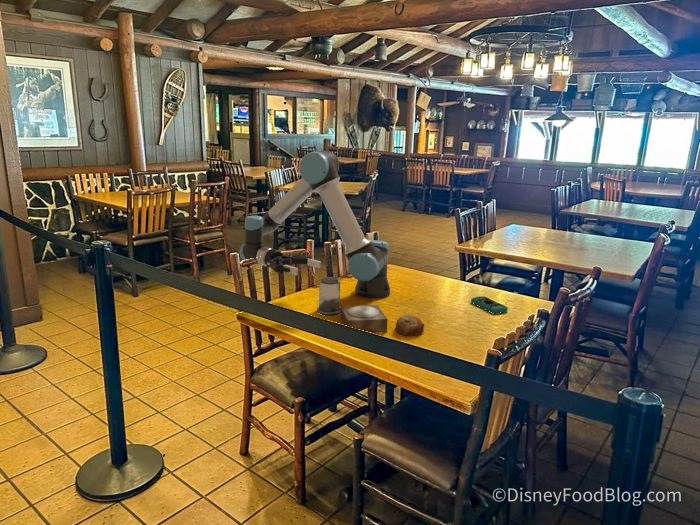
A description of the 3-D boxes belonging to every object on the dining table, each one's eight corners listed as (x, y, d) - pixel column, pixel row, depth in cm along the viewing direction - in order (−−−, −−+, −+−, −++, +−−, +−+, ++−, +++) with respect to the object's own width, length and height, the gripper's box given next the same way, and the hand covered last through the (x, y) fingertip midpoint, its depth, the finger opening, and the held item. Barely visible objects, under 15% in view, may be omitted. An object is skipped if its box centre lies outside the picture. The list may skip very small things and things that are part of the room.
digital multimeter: (483, 301, 211) (483, 294, 210) (508, 313, 198) (508, 306, 198) (469, 303, 208) (469, 297, 207) (493, 315, 195) (494, 308, 195)
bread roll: (397, 335, 182) (388, 316, 180) (422, 324, 181) (415, 305, 179) (402, 347, 172) (393, 327, 170) (429, 335, 172) (421, 315, 170)
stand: (377, 317, 188) (377, 304, 187) (386, 332, 175) (387, 317, 173) (340, 319, 185) (340, 305, 184) (347, 334, 172) (348, 319, 171)
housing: (338, 307, 197) (339, 275, 194) (342, 315, 189) (344, 282, 185) (315, 307, 196) (316, 276, 192) (318, 316, 187) (319, 283, 184)
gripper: (291, 261, 217) (329, 271, 205) (247, 272, 197) (286, 284, 185) (291, 244, 215) (329, 253, 203) (247, 254, 195) (286, 265, 183)
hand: (309, 268), depth 194 cm, fingers open, 13 cm apart
